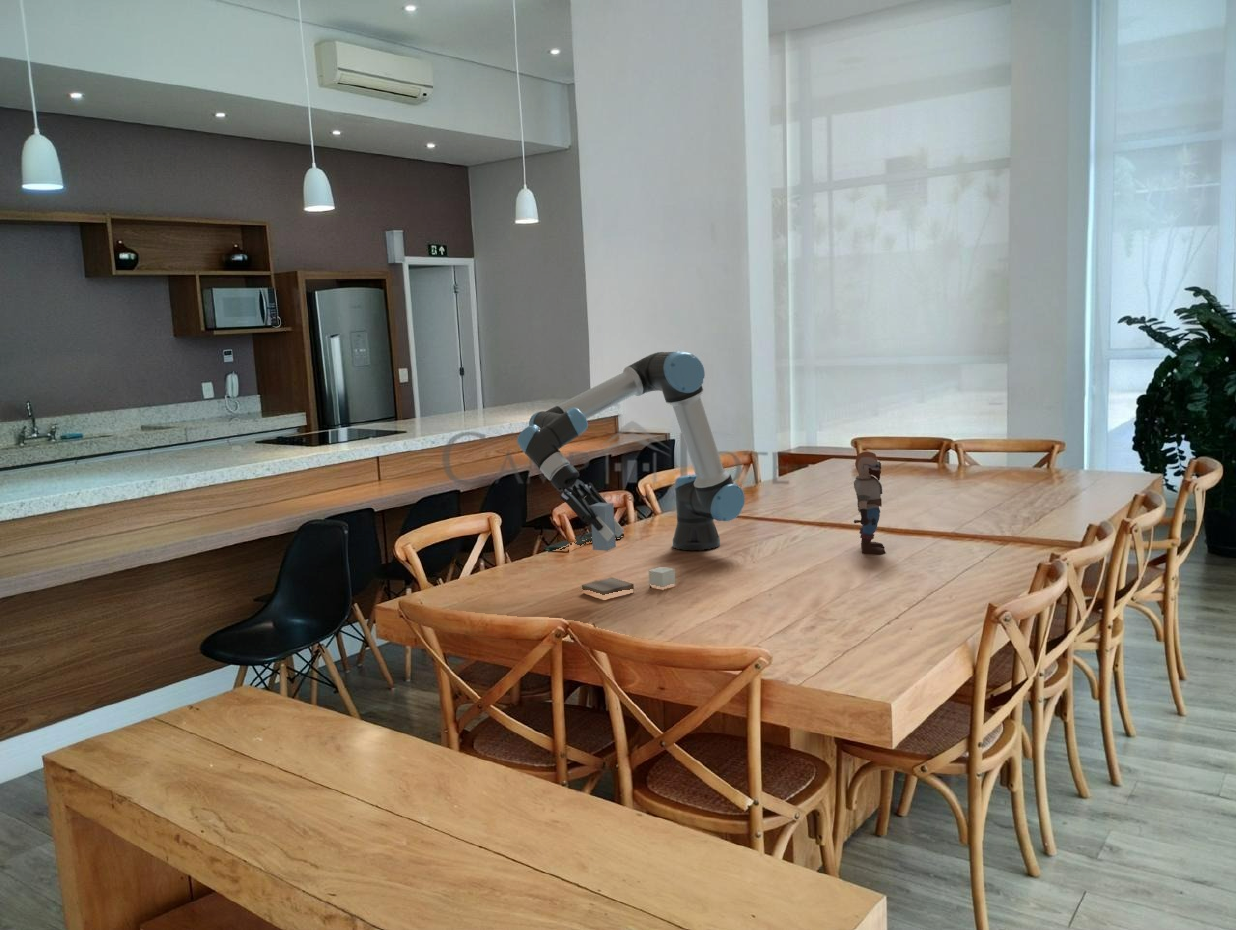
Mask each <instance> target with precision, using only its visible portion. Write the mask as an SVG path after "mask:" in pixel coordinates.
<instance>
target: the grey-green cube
mask: <svg viewBox="0 0 1236 930" xmlns="http://www.w3.org/2000/svg"><path fill="white" fill-rule="evenodd" d="M675 570H676V569H675V568H671V567H665V566H659V567H656V568H652V569H649V570H648V579H649V580H648V583H649V585H650V584H651V585H656V586H660V587H665V586H667V585H670V584H674V583H675V584H676V572H675Z"/></svg>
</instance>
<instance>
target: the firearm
mask: <svg viewBox="0 0 1236 930" xmlns="http://www.w3.org/2000/svg"><path fill="white" fill-rule="evenodd" d="M621 536H624V537H625V533H623V532H622V533H621V535H620V536H619V537H617V536H616V535H615V538H621ZM591 537H592V531H590V532H587V533H584V534H583V535H579V536H576V537H574V538H575V539H576V540H577V542H576V543H575V542H574V543H575V544H577V545H580V546H581V545H582V544H584V543H586V542H589V541H590V542H591V541H592V538H591ZM586 539H587V540H586ZM621 539H622V538H621ZM567 540H568V539H565V540H563V541H559V542H556V543H553V544H550V545H547V546H545V547H544V550H545V551H547V552H553V551H552V550H556V549H559V548H561V547H563V546H566V545H567V544H568V543H569V541H567ZM582 540H585V541H582ZM570 545H572V543H570ZM566 547H569V545H568V546H566ZM566 547H563V548H562V549H565V548H566ZM562 549H560V550H562Z"/></svg>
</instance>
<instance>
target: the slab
mask: <svg viewBox="0 0 1236 930" xmlns="http://www.w3.org/2000/svg"><path fill="white" fill-rule="evenodd" d="M634 587H635V586H634V583H631V582H628V581H625V580H620V579H618V578H615V577H609V578H604V579H600V580H597V581H593V582H588V583H584V584H581V589H583V590H590V591H593V592H596V593H600V594H602V595H605V594H609V593H613V592H618V591H622V590H630V589H634ZM634 590H635V589H634Z"/></svg>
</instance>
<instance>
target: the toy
mask: <svg viewBox="0 0 1236 930" xmlns="http://www.w3.org/2000/svg"><path fill="white" fill-rule="evenodd" d="M854 464H855V465H854V466H855V468H856V470H857V473H858V475H857V476H856V477H855V480H854V482H853V489H854V491H855V493H856V499H857V510H858V511H857V512H858V513H860V520H859V519H854V520H853V523H854V524H859V523H860V525H862V526H861V527H859V534H860V537H859V538H860V539H861V541H860V548H861V553H862V554H869V555H871V554H873V555H885V554H887V552H886V550H885V546H884V544H883V543H881V542H878V541H873V540H874V539H875V532H876V530H877V528H878V524H879V521H880V515H881V514H880V513H881V509H880V508H882V506H883V504H882V497H881V495H882V494H883V486H882V484H881V482H880V479H881V474H882V463H881V461H878V458H877V454H876V453H875V452H870V451H862V452H860V453H858V454H857V455H856V459H855V463H854Z"/></svg>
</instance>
